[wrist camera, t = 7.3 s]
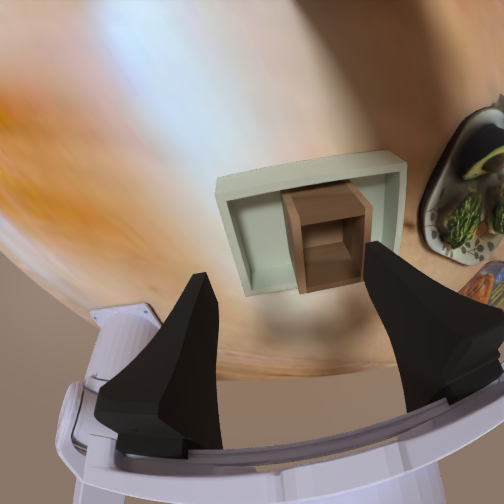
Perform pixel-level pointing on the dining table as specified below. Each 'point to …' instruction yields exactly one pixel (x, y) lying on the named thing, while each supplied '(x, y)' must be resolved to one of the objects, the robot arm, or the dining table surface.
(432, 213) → the salad plate
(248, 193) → the sage crate
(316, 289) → the walnut crate
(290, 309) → the dining table surface
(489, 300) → the tin
